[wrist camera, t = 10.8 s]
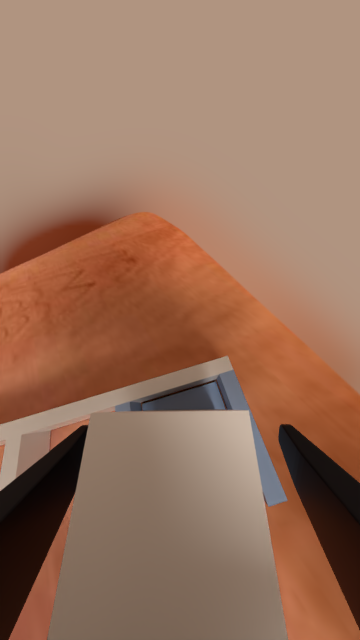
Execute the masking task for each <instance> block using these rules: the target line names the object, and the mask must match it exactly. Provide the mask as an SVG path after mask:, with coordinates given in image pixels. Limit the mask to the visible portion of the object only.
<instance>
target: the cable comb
mask: <svg viewBox="0 0 360 640" xmlns="http://www.w3.org/2000/svg"><path fill="white" fill-rule="evenodd" d="M213 380H217V383H218V385H219V388H220V391H221V394H222V397H223V399H224V402H225V405H226V408H227V410H249V415H250V421H251V427H252V432H253V438H254V444H255V450H256V456H257V462H258V467H259V473H260V479H261V485H262V491H263V497H264V501H265V502H266V504H267V505H268V506H272V505H275V504H278V503H281V502H284V501H287V498H286V495H285V493H284V490H283V488H282V486H281V483H280V481H279V478H278V476H277V474H276V471H275V469H274V466H273V464H272V461H271V459H270V457H269V454H268V452H267V449H266V447H265V445H264V442H263V440H262V437H261V435H260V433H259V430H258V428H257V425H256V423H255V420H254V418H253V416H252V413H251V411H250V408H249V406H248V404H247V401H246V399H245V396H244V394H243V391H242V389H241V387H240V384H239V382H238V379H237V377H236V375H235V372H234V370H233V367H232V365H231V363H230V360H229V358H228V356H225V357H222V358H218V359H215V360H212V361H209V362H205V363H202V364H199V365H195V366H192V367H189V368H185V369H182V370H179V371H176V372H172V373H169V374H166V375H162V376H159V377H156V378H152V379H149V380H146V381H143V382H139V383H136V384H133V385H129V386H126V387H123V388H120V389H116V390H113V391H110V392H106V393H103V394H100V395H96V396H93V397H90V398H87V399H83V400H80V401H77V402H73V403H70V404H67V405H63V406H60V407H57V408H54V409H50V410H47V411H44V412H40V413H37V414H34V415H30V416H27V417H24V418H21V419H17V420H14V421H11V422H7V423H4V424H1V425H0V446H1V445H5V449H4V455H3V461H2V467H1V473H0V491H1V490H2V489H3V488H4V487H6V486H7V485H8V484H9V483H11V482H12V481H13V480H14V479H16V478H17V477H18V476H19V475H21V474H22V473H23V472H24V471H26V470H27V469H28V468H29V467H31V466H32V465H33V464H34V463H36V462H37V461H38V460H39V459H41V458H42V457H43V456H44V455H46V454H47V453H48V452H49V449H50V434H51V430H53V429H57V428H60V427H63V426H66V425H70V424H73V423H76V422H79V421H83V420H86V419H89V418H90V414H91V413H98V412H112V411H115V412H124V411H142V408H143V411H149V410H191V409H225V406H224V403H223V400H222V397H221V395H220V392H219V389H218V386H217V383H216V382H213V383H210V384H206V385H203V386H200V387H197V388H193V389H190V390H187V391H184V392H180V393H177V394H174V395H171V396H167V397H164V398H161V399H158V400H154V401H151V402H148V403H145V404H142V406H141V402H145V401H148V400H151V399H154V398H158V397H161V396H164V395H167V394H171V393H174V392H177V391H180V390H184V389H187V388H190V387H193V386H197V385H200V384H203V383H206V382H210V381H213ZM225 410H226V409H225Z"/></svg>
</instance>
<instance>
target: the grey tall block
mask: <svg viewBox="0 0 360 640" xmlns="http://www.w3.org/2000/svg"><path fill="white" fill-rule="evenodd" d="M47 640H288V637H287V631H286V625H285V619H284V613H283V607H282V602H281V596H280V590H279V584H278V578H277V572H276V567H275V561H274V555H273V549H272V543H271V537H270V532H269V526H268V520H267V514H266V508H265V502H264V497H263V491H262V485H261V479H260V473H259V467H258V462H257V456H256V450H255V444H254V438H253V432H252V427H251V421H250V415H249V410H225V409H191V410H149V411H124V412H98V413H91V414H90V420H89V425H88V430H87V435H86V440H85V446H84V451H83V456H82V461H81V466H80V471H79V477H78V482H77V487H76V492H75V497H74V503H73V508H72V513H71V518H70V523H69V529H68V534H67V539H66V544H65V549H64V554H63V560H62V565H61V570H60V575H59V580H58V586H57V591H56V596H55V601H54V606H53V612H52V617H51V622H50V627H49V632H48V637H47Z"/></svg>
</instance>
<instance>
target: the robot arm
mask: <svg viewBox="0 0 360 640" xmlns="http://www.w3.org/2000/svg"><path fill="white" fill-rule="evenodd" d="M87 430H88V425H82V426H81V427H79V428H78V429H77V430H76V431H74V432H73V433H72V434H71V435H69V436H68V437H67V438H66V439H64V440H63V441H62V442H61V443H59V444H58V445H57V446H56V447H54V448H53V449H52V450H51V451H49V452H48V453H47V454H46V455H44V456H43V457H42V458H41V459H39V460H38V461H37V462H36V463H34V464H33V465H32V466H31V467H29V468H28V469H27V470H26V471H24V472H23V473H22V474H21V475H19V476H18V477H17V478H16V479H14V480H13V481H12V482H11V483H9V484H8V485H7V486H6V487H4V488H3V489H2V490H1V491H0V640H8V639H9V637H10V635H11V633H12V631H13V628H14V626H15V624H16V622H17V620H18V617H19V615H20V613H21V611H22V609H23V606H24V604H25V602H26V600H27V598H28V595H29V593H30V591H31V589H32V586H33V584H34V582H35V580H36V578H37V575H38V573H39V571H40V569H41V567H42V564H43V562H44V560H45V558H46V556H47V553H48V551H49V549H50V547H51V545H52V542H53V540H54V538H55V536H56V533H57V531H58V529H59V527H60V525H61V522H62V520H63V518H64V516H65V514H66V511H67V509H68V507H69V505H70V503H71V500H72V498H73V496H74V494H75V491H76V487H77V482H78V477H79V471H80V466H81V461H82V456H83V451H84V446H85V440H86V435H87ZM279 444H280V446H281V449H282V452H283V455H284V458H285V461H286V463H287V466H288V469H289V472H290V475H291V477H292V480H293V483H294V485H295V488H296V490H297V492H298V495H299V497H300V499H301V501H302V504H303V506H304V508H305V510H306V512H307V515H308V517H309V519H310V521H311V523H312V526H313V528H314V530H315V532H316V535H317V537H318V539H319V541H320V543H321V546H322V548H323V550H324V552H325V554H326V557H327V559H328V561H329V563H330V565H331V568H332V570H333V572H334V574H335V577H336V579H337V581H338V583H339V585H340V588H341V590H342V592H343V594H344V596H345V599H346V601H347V603H348V605H349V608H350V610H351V612H352V614H353V616H354V619H355V621H356V623H357V625H358V627H359V630H360V483H359V482H358V481H357V480H355V479H354V478H353V477H352V476H351V475H350V474H348V473H347V472H346V471H345V470H344V469H342V468H341V467H340V466H339V465H338V464H337V463H335V462H334V461H333V460H332V459H331V458H329V457H328V456H327V455H326V454H325V453H324V452H322V451H321V450H320V449H319V448H318V447H317V446H315V445H314V444H313V443H312V442H311V441H309V440H308V439H307V438H306V437H305V436H304V435H302V434H301V433H300V432H299V431H298V430H296V429H295V428H294V427H293V426H292V425H290V424H281V425H280V429H279Z"/></svg>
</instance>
